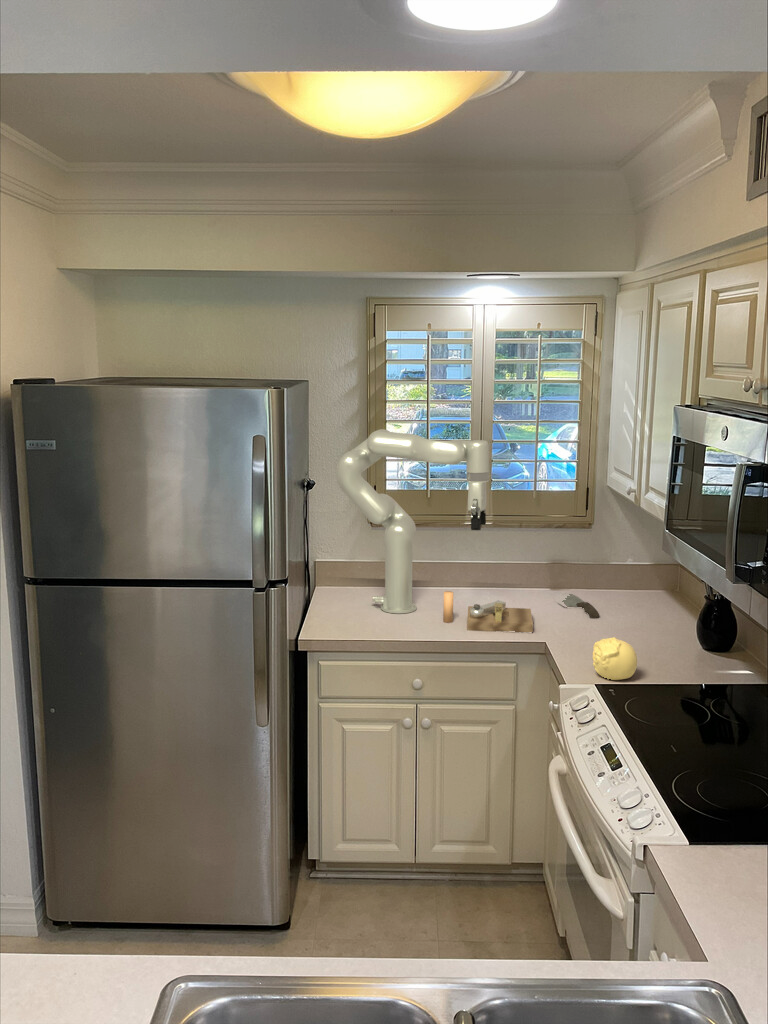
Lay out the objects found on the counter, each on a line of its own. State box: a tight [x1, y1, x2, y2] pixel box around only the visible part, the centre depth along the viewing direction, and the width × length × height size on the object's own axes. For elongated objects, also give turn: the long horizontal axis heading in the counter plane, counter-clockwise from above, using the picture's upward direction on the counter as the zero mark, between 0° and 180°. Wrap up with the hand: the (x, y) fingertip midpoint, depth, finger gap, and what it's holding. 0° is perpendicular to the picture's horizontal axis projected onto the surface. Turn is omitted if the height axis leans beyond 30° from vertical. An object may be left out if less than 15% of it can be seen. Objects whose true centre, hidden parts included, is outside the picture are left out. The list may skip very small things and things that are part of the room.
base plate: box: [466, 603, 534, 633], centre depth 277 cm, size 21×17×7 cm
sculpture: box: [592, 636, 638, 681], centre depth 231 cm, size 11×12×11 cm
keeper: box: [495, 603, 502, 622], centre depth 272 cm, size 2×7×4 cm, turn 173°
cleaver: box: [562, 593, 600, 619], centre depth 297 cm, size 29×10×2 cm, turn 10°
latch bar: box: [470, 600, 507, 618], centre depth 278 cm, size 15×4×2 cm, turn 133°
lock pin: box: [442, 590, 454, 624], centre depth 278 cm, size 3×3×10 cm
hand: (478, 527), depth 283 cm, fingers open, 9 cm apart
